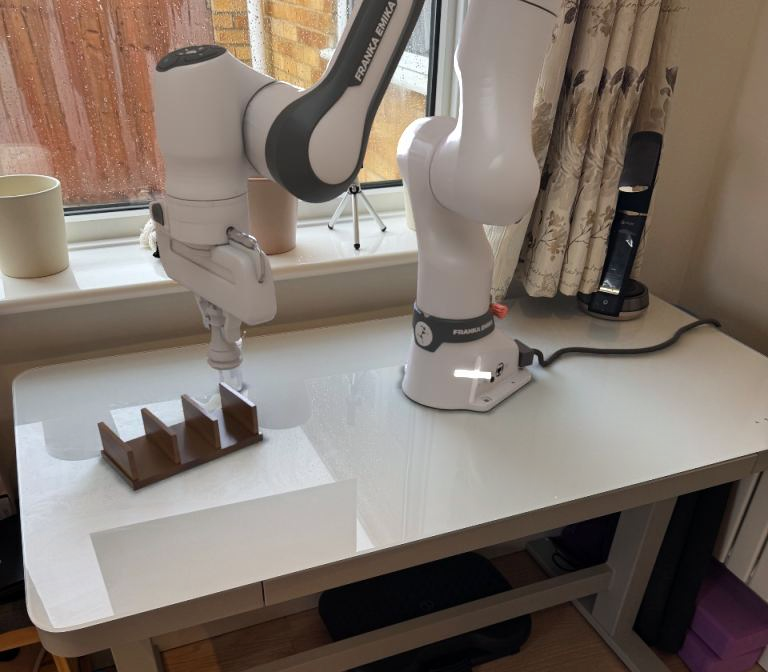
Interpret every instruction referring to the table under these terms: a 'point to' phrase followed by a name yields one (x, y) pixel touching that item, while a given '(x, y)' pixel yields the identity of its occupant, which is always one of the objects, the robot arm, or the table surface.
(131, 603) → the table surface
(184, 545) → the table surface
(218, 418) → the plate rack
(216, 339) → the rook chess piece
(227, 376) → the milkshake
